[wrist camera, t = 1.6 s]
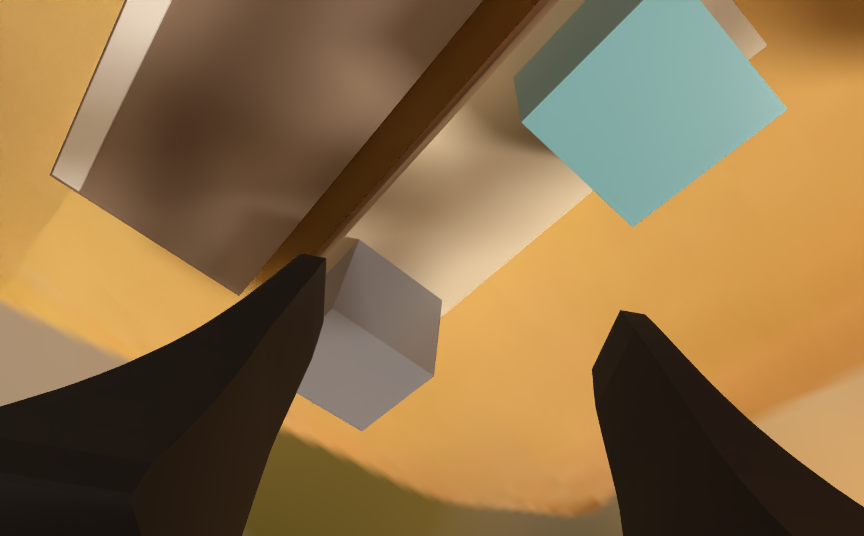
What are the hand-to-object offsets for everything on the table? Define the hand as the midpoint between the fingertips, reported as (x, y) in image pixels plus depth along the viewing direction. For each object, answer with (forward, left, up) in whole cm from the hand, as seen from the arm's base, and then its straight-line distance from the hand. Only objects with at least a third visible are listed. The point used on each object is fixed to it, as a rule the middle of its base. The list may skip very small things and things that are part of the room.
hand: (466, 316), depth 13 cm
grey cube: (0, +6, -6) cm, 8 cm away
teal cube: (0, -6, -6) cm, 8 cm away
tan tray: (0, 0, -9) cm, 9 cm away
